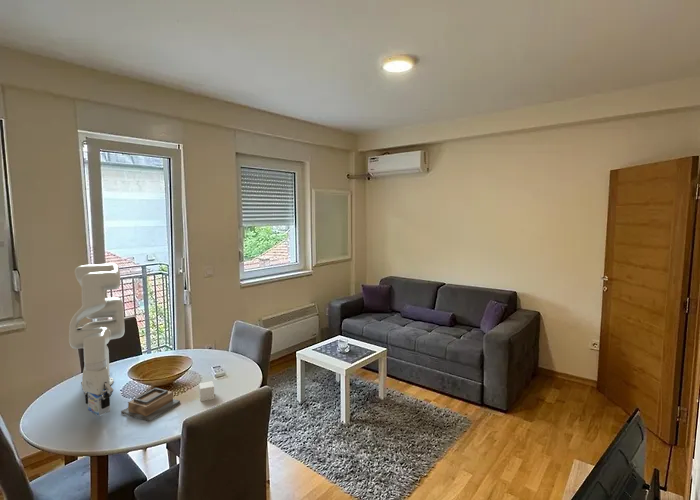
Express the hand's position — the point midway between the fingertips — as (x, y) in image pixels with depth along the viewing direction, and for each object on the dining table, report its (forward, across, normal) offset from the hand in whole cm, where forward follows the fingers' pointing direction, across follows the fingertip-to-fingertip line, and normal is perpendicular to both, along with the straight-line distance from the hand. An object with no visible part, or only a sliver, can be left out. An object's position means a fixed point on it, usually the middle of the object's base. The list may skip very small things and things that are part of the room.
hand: (97, 404), depth 153 cm
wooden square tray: (+6, +13, +14) cm, 20 cm away
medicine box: (+3, 0, 0) cm, 3 cm away
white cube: (+7, +28, +31) cm, 42 cm away
